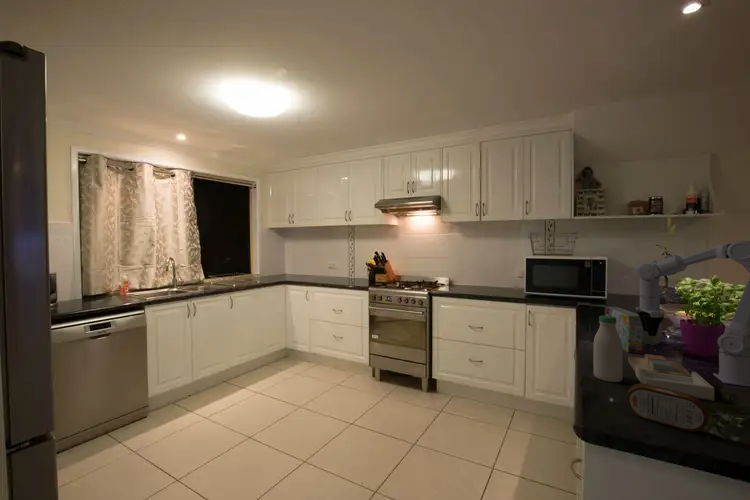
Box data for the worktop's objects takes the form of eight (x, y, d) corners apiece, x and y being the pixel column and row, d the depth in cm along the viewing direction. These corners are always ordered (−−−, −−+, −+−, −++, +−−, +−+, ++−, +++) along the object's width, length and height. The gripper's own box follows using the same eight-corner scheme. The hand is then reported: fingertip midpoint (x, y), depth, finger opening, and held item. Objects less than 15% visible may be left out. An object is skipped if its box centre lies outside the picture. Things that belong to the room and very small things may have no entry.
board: (677, 367, 117) (677, 362, 117) (693, 382, 104) (693, 376, 104) (628, 361, 123) (628, 356, 123) (637, 375, 111) (637, 369, 111)
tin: (708, 433, 77) (709, 396, 77) (709, 438, 75) (709, 401, 74) (627, 410, 87) (627, 378, 87) (625, 415, 85) (625, 382, 85)
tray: (695, 383, 104) (695, 372, 104) (714, 400, 92) (714, 388, 92) (635, 375, 111) (635, 364, 111) (645, 390, 99) (645, 378, 99)
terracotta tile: (662, 361, 117) (662, 356, 117) (667, 366, 113) (667, 360, 113) (644, 359, 120) (644, 353, 120) (648, 363, 115) (648, 358, 115)
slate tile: (668, 367, 112) (668, 361, 112) (673, 372, 108) (673, 366, 108) (649, 364, 114) (649, 359, 114) (653, 369, 110) (653, 363, 110)
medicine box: (650, 340, 150) (650, 321, 150) (662, 343, 146) (662, 323, 146) (641, 343, 146) (641, 323, 146) (654, 345, 142) (654, 325, 142)
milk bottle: (627, 383, 104) (627, 319, 104) (599, 381, 106) (599, 318, 105) (615, 374, 112) (615, 314, 111) (589, 372, 113) (589, 313, 113)
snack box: (644, 354, 132) (644, 316, 131) (627, 353, 133) (627, 315, 133) (618, 339, 152) (618, 306, 152) (604, 338, 154) (604, 306, 153)
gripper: (631, 293, 131) (631, 327, 132) (640, 298, 118) (640, 336, 119) (654, 294, 128) (654, 329, 128) (666, 300, 115) (666, 339, 115)
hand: (649, 333), depth 123 cm, fingers open, 6 cm apart
